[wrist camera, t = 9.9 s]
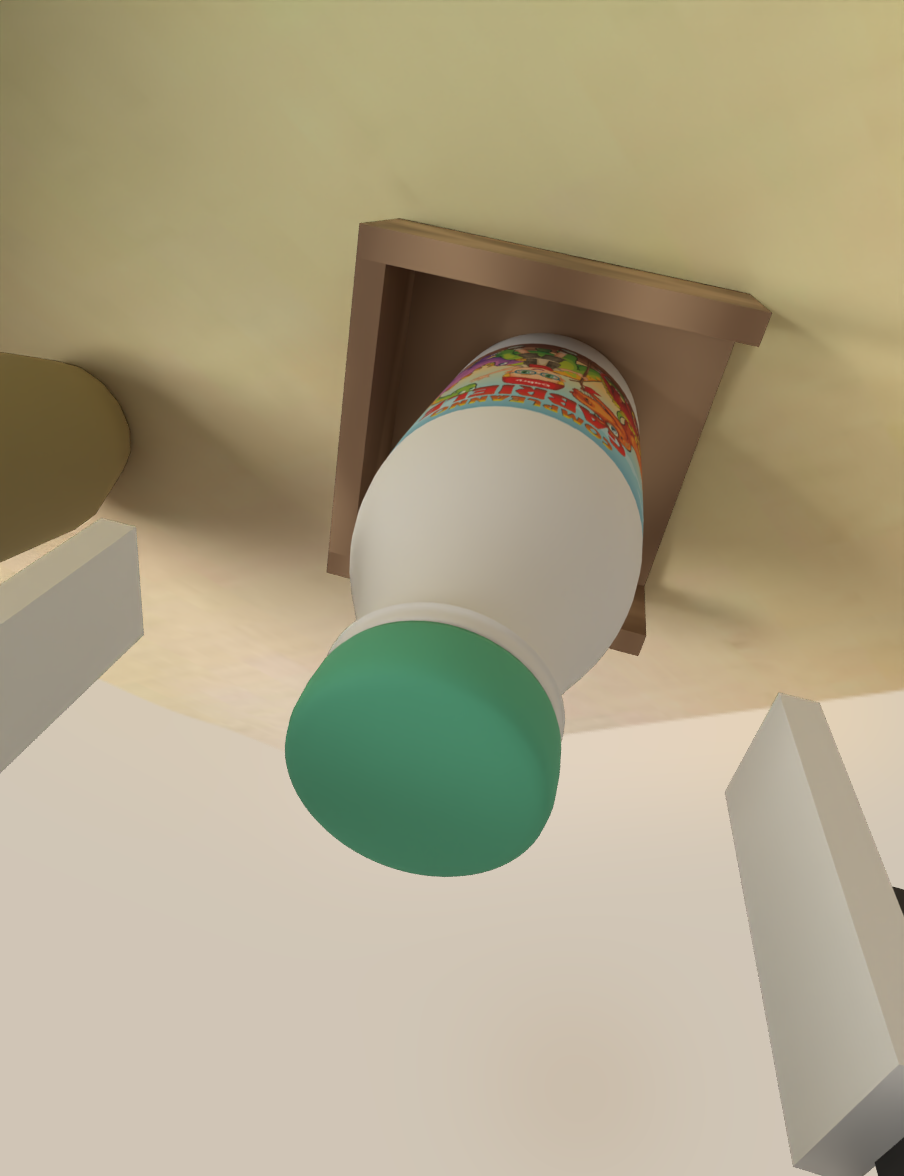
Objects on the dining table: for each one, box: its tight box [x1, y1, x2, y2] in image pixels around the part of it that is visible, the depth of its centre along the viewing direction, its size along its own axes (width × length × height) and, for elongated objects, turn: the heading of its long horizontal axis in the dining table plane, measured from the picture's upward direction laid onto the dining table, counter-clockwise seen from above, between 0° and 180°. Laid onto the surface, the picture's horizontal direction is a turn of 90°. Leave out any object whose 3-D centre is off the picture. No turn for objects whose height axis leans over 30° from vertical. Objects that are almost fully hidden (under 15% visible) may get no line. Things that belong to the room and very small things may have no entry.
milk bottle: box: [285, 333, 644, 877], centre depth 20 cm, size 8×8×20 cm
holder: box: [327, 218, 772, 656], centre depth 27 cm, size 13×13×5 cm
